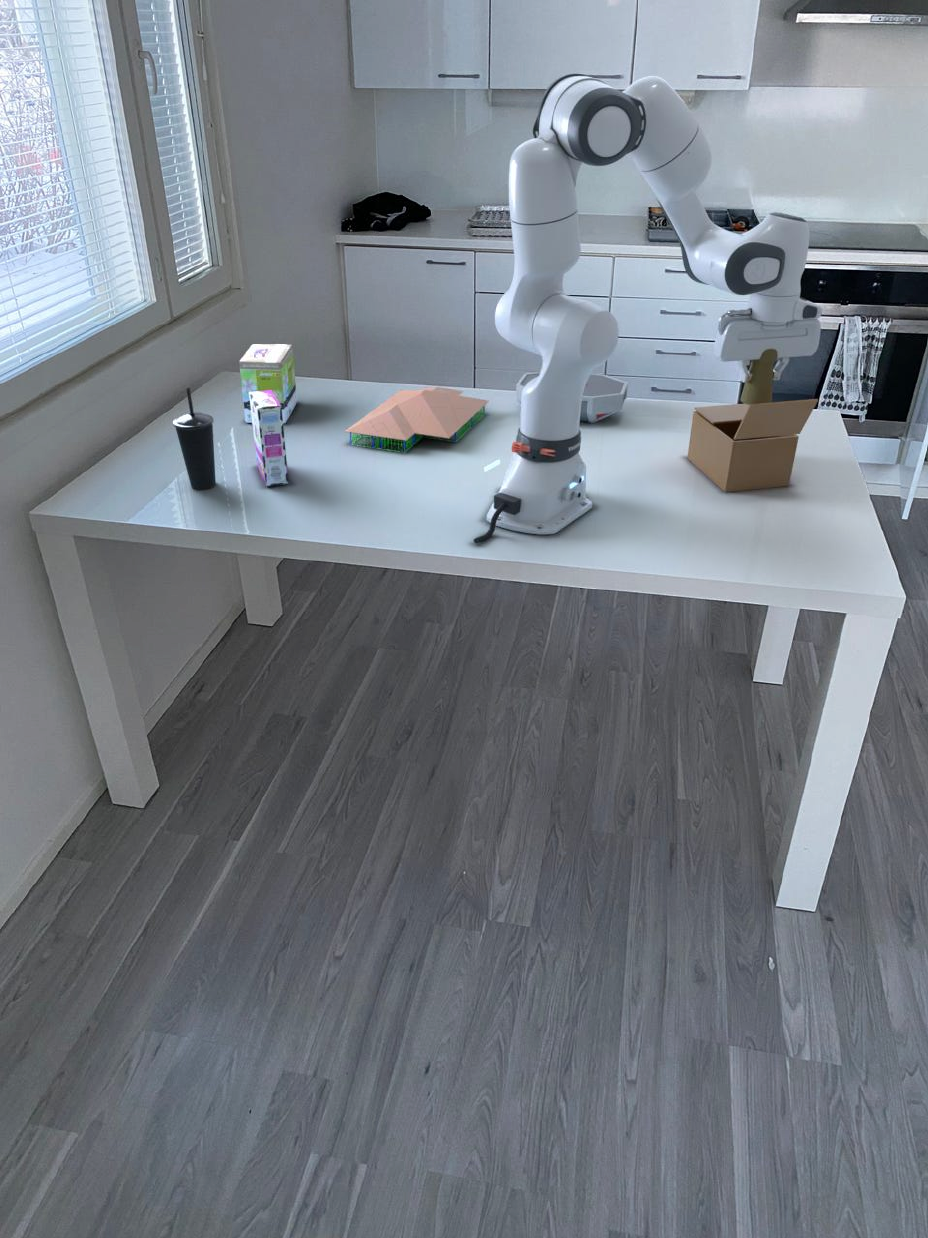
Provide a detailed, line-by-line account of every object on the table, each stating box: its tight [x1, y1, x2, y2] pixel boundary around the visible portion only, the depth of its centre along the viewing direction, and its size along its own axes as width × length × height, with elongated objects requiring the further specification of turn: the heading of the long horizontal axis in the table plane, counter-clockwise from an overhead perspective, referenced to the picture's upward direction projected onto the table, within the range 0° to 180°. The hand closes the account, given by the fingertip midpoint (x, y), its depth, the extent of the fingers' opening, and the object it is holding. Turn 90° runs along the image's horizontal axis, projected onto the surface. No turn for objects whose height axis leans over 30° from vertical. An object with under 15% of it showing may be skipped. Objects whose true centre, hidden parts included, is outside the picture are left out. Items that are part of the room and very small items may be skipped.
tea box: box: [238, 343, 298, 424], centre depth 221 cm, size 15×10×15 cm
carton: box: [686, 403, 800, 493], centre depth 192 cm, size 18×14×11 cm
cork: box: [740, 349, 778, 405], centre depth 180 cm, size 6×6×11 cm
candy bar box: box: [249, 390, 290, 487], centre depth 189 cm, size 11×5×16 cm, turn 20°
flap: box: [734, 398, 819, 440], centre depth 178 cm, size 9×14×1 cm
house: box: [344, 386, 490, 454], centre depth 214 cm, size 23×33×8 cm
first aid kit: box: [515, 371, 629, 424], centre depth 222 cm, size 18×8×25 cm
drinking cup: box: [172, 387, 217, 491], centre depth 183 cm, size 8×8×20 cm
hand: (760, 380), depth 181 cm, fingers closed on cork, 4 cm apart
